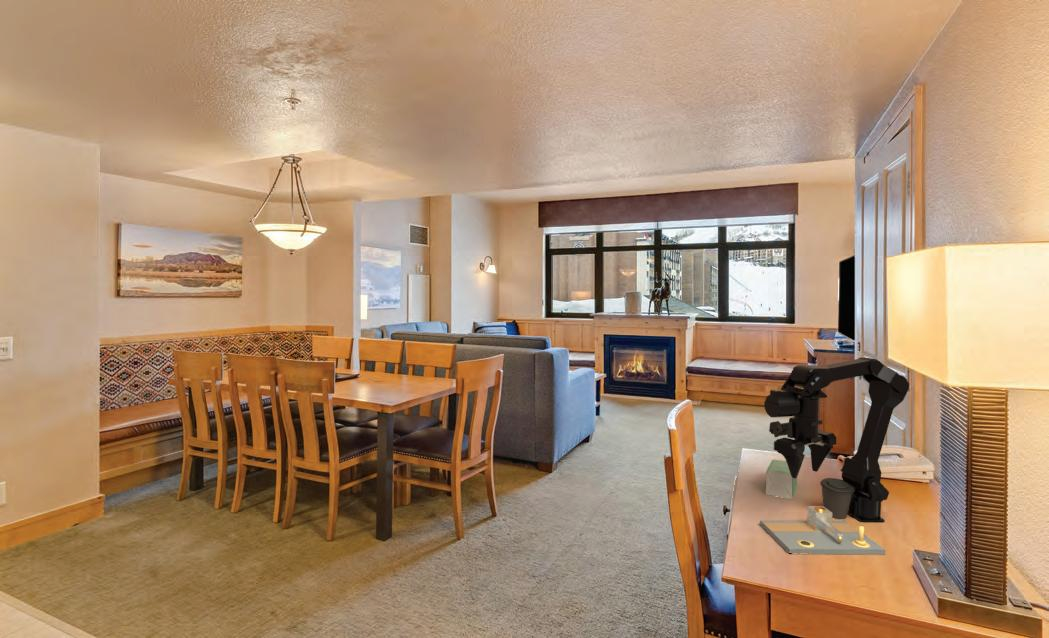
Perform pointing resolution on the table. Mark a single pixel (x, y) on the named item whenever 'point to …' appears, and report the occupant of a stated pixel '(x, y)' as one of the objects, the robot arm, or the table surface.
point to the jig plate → (820, 538)
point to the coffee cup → (836, 496)
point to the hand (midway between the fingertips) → (804, 474)
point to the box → (780, 480)
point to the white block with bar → (822, 520)
